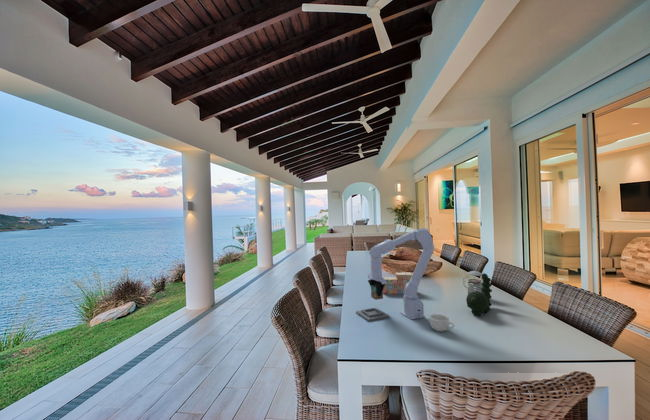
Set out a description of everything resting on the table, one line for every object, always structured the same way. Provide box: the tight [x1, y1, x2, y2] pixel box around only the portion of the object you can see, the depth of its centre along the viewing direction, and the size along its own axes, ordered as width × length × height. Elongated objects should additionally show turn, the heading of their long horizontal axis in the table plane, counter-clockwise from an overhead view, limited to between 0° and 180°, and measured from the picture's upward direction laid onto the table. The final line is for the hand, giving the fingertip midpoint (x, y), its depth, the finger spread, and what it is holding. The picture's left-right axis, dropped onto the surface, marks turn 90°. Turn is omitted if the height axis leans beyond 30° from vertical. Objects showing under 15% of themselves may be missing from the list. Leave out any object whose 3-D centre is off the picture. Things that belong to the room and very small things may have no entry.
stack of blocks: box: [382, 271, 413, 295], centre depth 177 cm, size 21×6×12 cm, turn 86°
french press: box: [462, 254, 483, 297], centre depth 165 cm, size 10×12×25 cm
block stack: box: [370, 285, 384, 300], centre depth 147 cm, size 4×4×6 cm
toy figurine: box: [465, 273, 493, 317], centre depth 142 cm, size 10×19×26 cm
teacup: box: [429, 313, 455, 333], centre depth 122 cm, size 10×8×5 cm
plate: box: [355, 307, 390, 322], centre depth 141 cm, size 12×12×2 cm
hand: (376, 294), depth 147 cm, fingers closed on block stack, 4 cm apart
